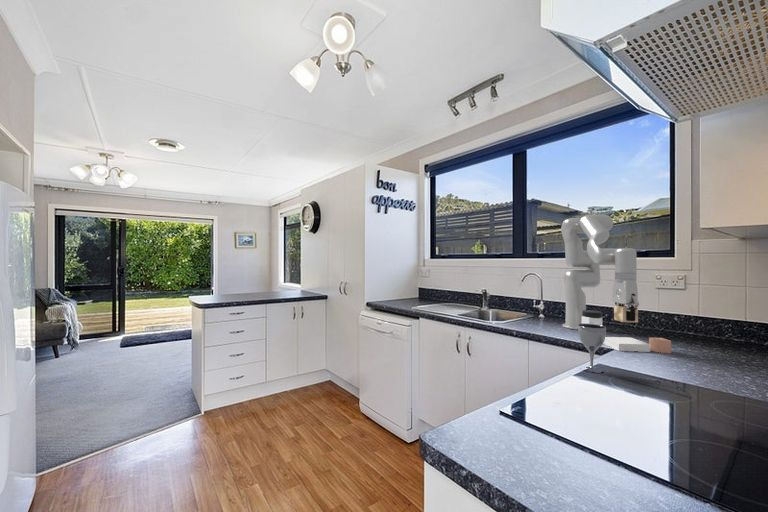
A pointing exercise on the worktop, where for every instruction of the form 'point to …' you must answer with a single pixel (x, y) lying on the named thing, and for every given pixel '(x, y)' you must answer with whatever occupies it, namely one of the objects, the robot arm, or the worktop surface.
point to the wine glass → (592, 338)
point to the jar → (591, 317)
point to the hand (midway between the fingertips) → (625, 319)
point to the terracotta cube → (660, 345)
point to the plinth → (627, 344)
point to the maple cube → (623, 314)
